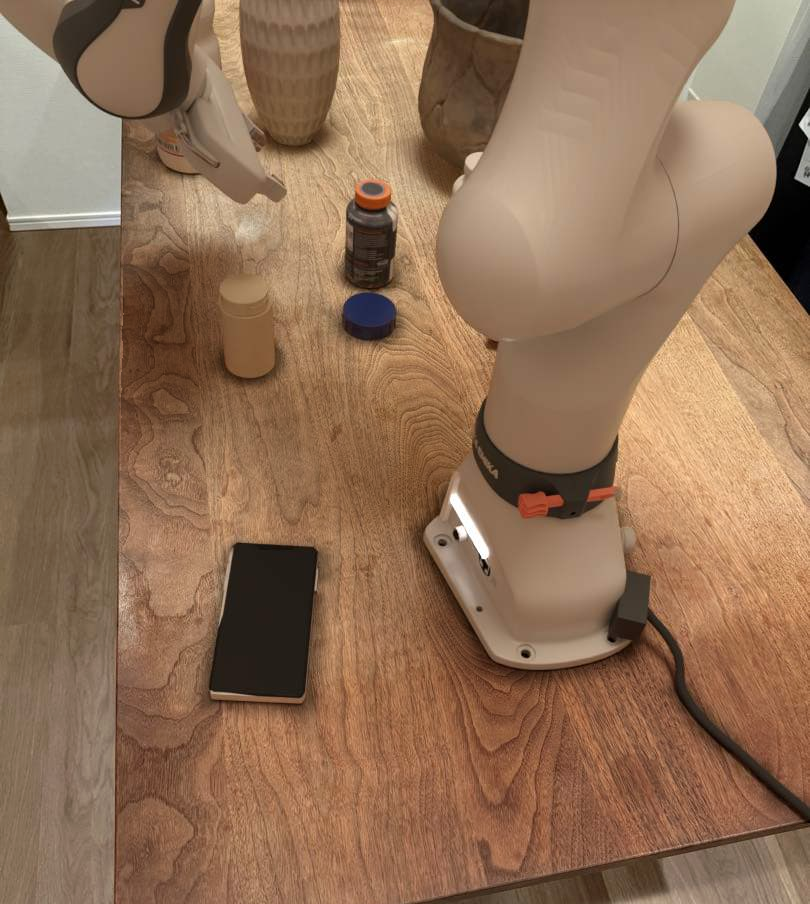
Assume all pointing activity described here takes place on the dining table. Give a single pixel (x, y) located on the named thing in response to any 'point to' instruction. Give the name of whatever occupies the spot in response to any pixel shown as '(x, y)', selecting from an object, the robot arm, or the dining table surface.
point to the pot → (469, 72)
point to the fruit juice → (210, 46)
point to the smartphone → (265, 624)
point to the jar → (247, 325)
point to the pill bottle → (371, 235)
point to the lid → (369, 316)
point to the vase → (291, 63)
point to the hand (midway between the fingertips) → (271, 168)
